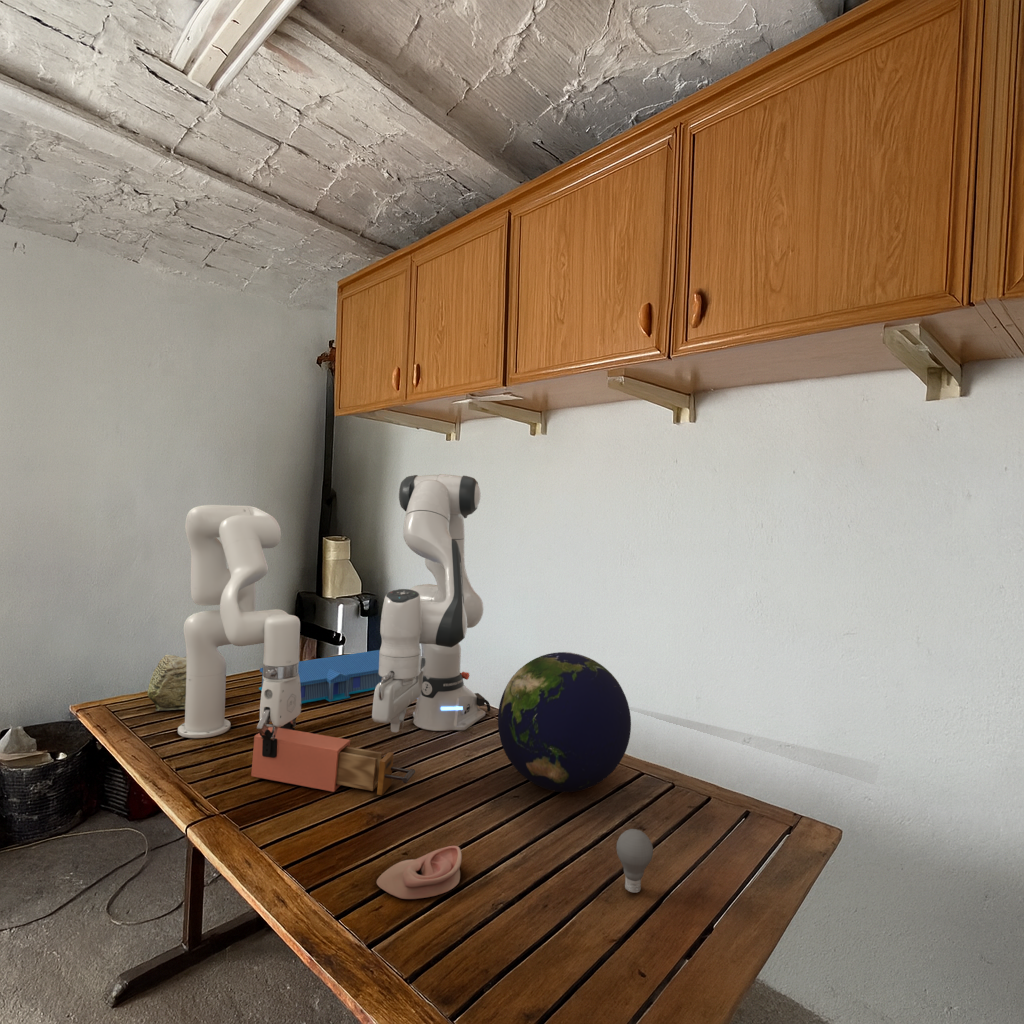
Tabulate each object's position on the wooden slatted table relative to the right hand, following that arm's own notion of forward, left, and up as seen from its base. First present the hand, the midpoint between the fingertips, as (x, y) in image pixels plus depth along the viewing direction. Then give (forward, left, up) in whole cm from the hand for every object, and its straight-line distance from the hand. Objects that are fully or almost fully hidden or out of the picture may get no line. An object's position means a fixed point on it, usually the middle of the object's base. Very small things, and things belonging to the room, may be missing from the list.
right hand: (397, 729), depth 137 cm
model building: (-41, -67, -14) cm, 80 cm away
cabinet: (+9, -21, -13) cm, 26 cm away
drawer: (+3, -8, -13) cm, 16 cm away
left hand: (+11, -26, -8) cm, 29 cm away
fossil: (-1, -85, -14) cm, 87 cm away
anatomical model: (+20, +25, -14) cm, 35 cm away
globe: (-26, +27, -14) cm, 40 cm away
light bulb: (+1, +55, -14) cm, 57 cm away
